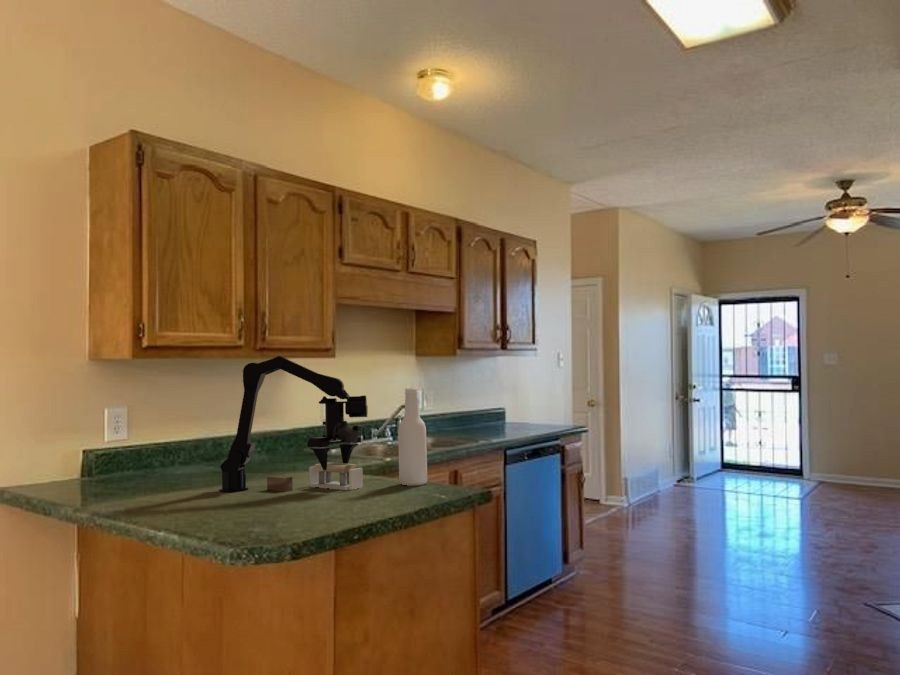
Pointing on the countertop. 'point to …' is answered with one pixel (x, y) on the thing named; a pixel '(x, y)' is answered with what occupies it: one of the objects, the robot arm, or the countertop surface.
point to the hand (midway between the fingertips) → (335, 468)
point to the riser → (279, 483)
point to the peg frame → (352, 482)
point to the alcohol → (412, 443)
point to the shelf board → (336, 467)
